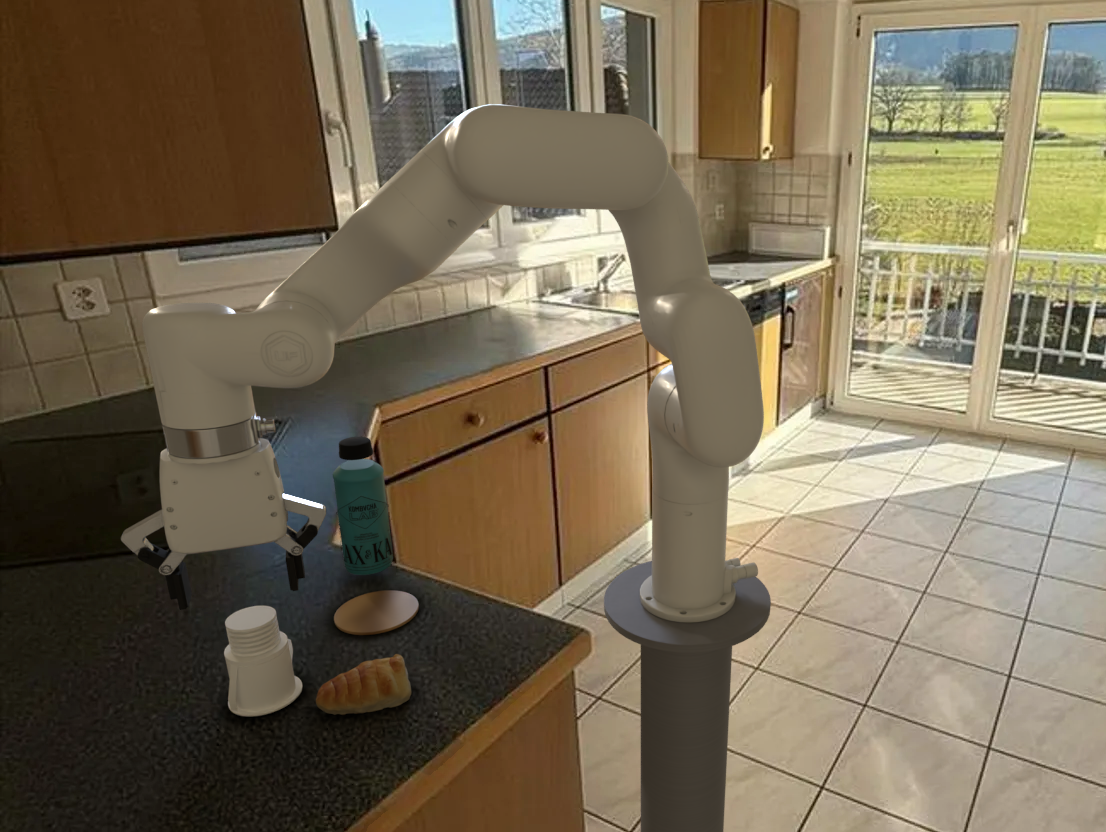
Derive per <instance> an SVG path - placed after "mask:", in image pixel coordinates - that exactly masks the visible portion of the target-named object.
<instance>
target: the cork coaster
mask: <svg viewBox="0 0 1106 832" xmlns="http://www.w3.org/2000/svg"><path fill="white" fill-rule="evenodd" d="M419 609H420V605H419V601H418V599H417V598H416V597H415V596H414V595H413V594H410V592H406V591H402V590H393V589H392V590H391V589H390V590H388V589H387V590H378V591H372V592H367V593H364V594H361V595H358V596H356V597H354V598H351V599H350V600H347V601H346V602H345V603H343V604H342V605H341V606H340V607H338V609H336V612H334V616H333V621H334V625H335V627H336V628H337V629H338V630H339V631H341V632H342V633H343V632H344V633H346V634H349V635H354V636H370V635H371V636H372V635H378V634H384V633H387V632H390V631H393V630H396V629H398V628H400V627H402V626H404V625H407V623H409V622H410V621H411V620H412V619H414V617H416V615H417V613H418V611H419Z"/></svg>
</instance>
